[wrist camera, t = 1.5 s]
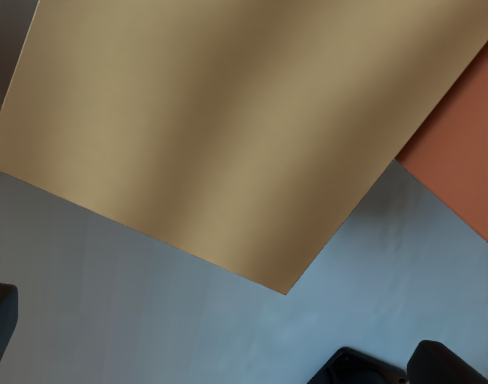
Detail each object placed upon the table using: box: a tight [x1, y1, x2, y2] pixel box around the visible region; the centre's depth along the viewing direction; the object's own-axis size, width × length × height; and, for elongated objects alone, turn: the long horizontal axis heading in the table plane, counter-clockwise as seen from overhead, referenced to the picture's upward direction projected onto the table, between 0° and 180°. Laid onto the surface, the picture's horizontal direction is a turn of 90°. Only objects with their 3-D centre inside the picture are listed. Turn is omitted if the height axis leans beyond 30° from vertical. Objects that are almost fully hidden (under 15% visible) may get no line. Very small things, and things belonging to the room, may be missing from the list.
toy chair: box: [394, 41, 488, 242], centre depth 14 cm, size 6×6×12 cm
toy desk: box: [0, 0, 488, 295], centre depth 15 cm, size 12×16×8 cm
